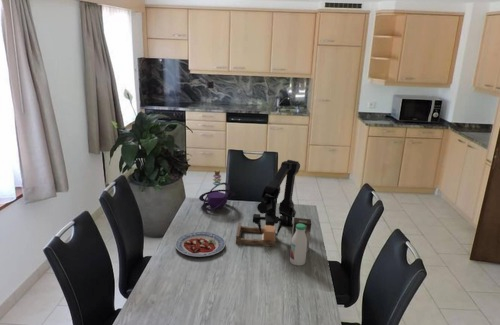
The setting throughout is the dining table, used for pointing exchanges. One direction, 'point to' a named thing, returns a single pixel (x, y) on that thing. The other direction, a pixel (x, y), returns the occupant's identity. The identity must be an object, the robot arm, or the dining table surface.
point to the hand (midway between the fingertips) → (269, 233)
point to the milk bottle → (298, 246)
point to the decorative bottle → (216, 195)
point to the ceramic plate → (200, 244)
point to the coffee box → (307, 230)
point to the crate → (269, 232)
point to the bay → (252, 241)
